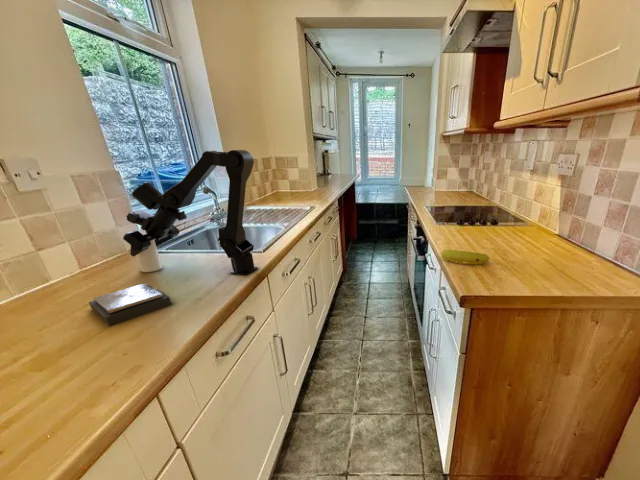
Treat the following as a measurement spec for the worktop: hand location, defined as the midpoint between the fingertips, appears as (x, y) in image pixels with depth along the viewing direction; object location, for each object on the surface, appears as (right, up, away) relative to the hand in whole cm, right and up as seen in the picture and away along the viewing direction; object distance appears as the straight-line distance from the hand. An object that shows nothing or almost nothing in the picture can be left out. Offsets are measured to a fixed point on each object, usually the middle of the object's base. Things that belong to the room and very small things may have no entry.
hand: (142, 251), depth 110 cm
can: (+1, -6, +3) cm, 7 cm away
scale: (+15, -18, -23) cm, 33 cm away
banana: (+114, 0, +10) cm, 115 cm away
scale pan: (+15, -15, -25) cm, 33 cm away
